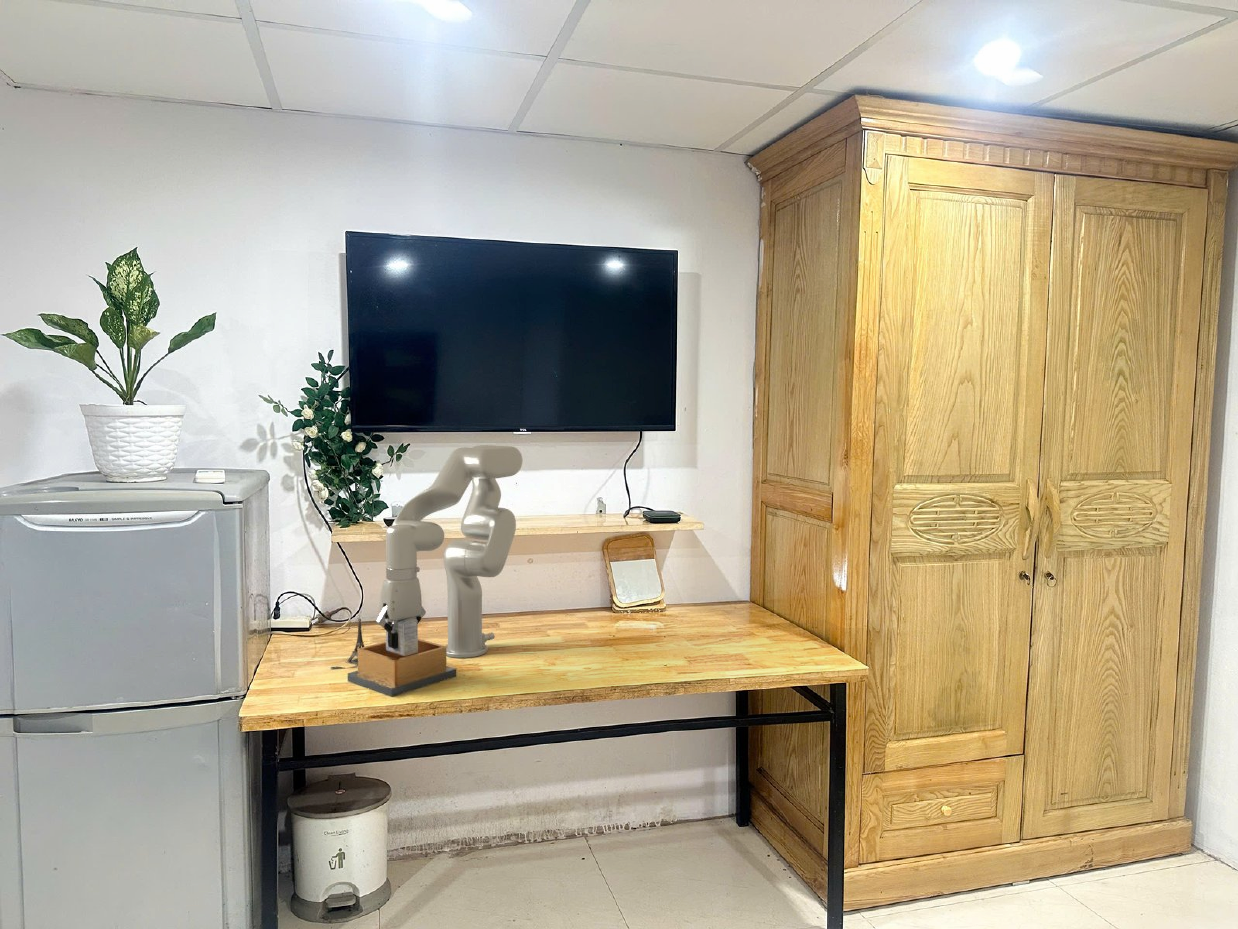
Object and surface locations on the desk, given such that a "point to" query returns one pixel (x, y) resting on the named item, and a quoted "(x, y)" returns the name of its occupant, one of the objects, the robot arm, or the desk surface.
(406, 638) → the medicine box
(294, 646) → the desk surface
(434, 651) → the brown open box
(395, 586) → the robot arm
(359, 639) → the eiffel tower figurine
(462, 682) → the desk surface
